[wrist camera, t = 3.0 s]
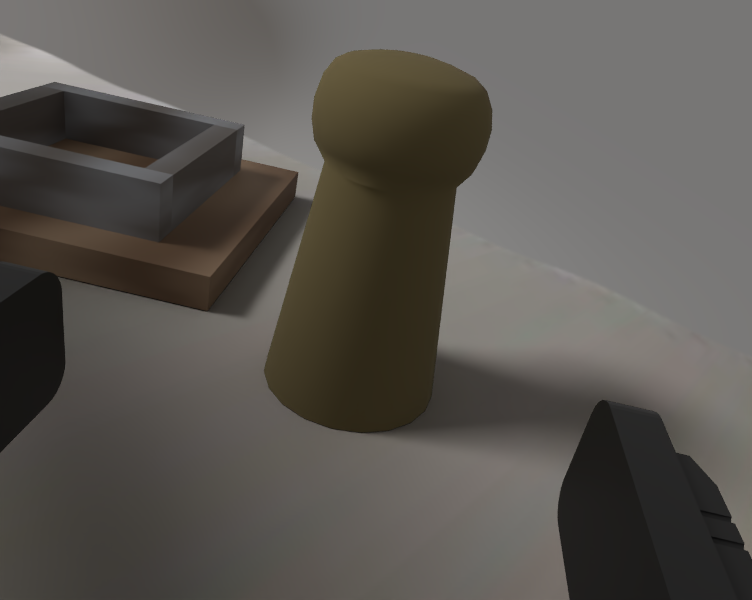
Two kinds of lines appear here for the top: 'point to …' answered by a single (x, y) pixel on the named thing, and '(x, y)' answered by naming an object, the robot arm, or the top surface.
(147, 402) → the top surface
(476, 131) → the cork
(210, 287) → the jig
